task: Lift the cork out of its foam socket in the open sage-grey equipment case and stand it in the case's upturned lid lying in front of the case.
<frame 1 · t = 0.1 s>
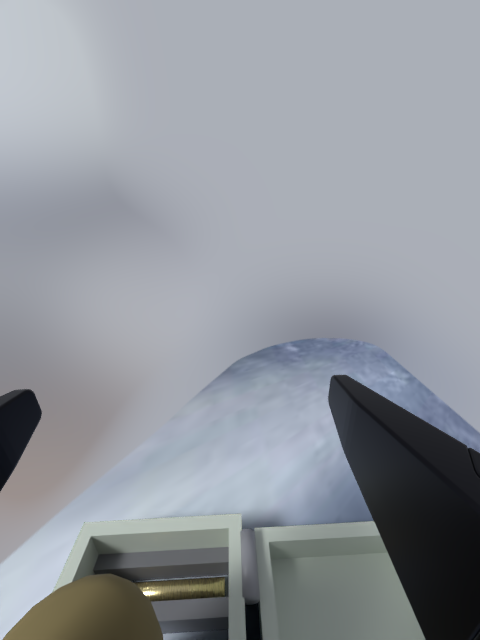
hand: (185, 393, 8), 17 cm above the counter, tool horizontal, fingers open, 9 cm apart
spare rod: (163, 598, 17), resting in case, tilted 14°
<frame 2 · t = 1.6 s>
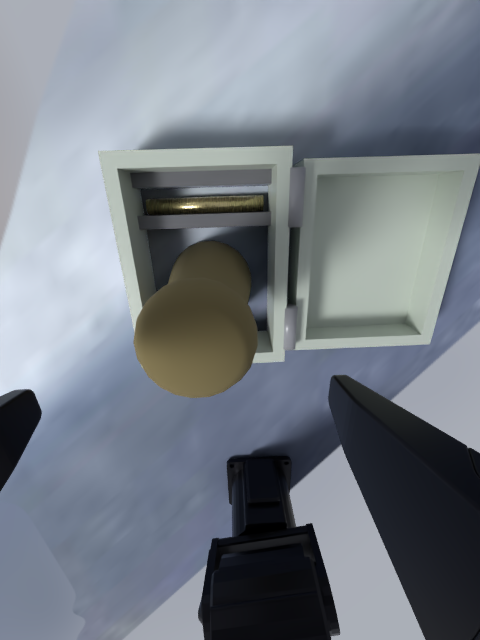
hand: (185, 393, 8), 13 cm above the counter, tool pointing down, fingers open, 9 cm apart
cork: (211, 281, 20), resting in case
lid: (356, 256, 20), on the counter
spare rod: (205, 199, 18), resting in case, tilted 43°
case: (210, 262, 20), on the counter
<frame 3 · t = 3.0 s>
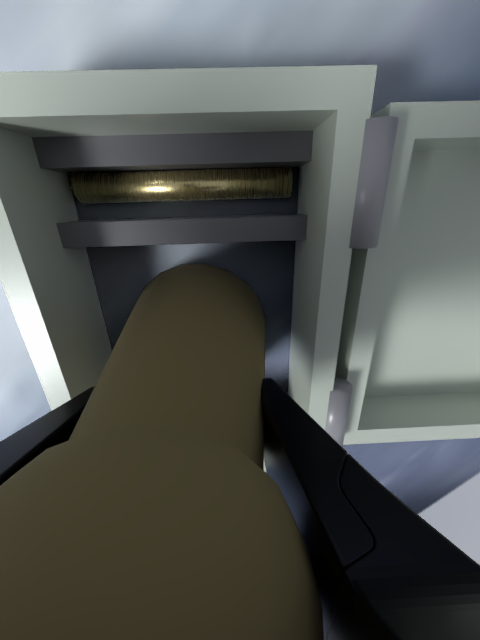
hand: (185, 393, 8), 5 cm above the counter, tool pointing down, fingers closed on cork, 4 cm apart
cork: (200, 327, 13), resting in case, touching gripper
lid: (440, 288, 12), on the counter
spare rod: (187, 199, 10), resting in case, tilted 63°
case: (197, 298, 12), on the counter
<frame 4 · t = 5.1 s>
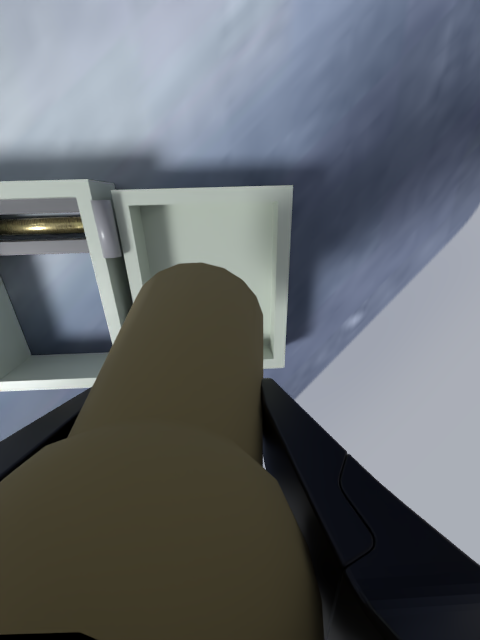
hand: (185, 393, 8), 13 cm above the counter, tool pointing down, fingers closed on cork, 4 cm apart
cork: (198, 326, 12), point 8 cm above the counter, touching gripper
lid: (212, 280, 20), on the counter
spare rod: (47, 233, 18), resting in case, tilted 76°
case: (63, 285, 20), on the counter
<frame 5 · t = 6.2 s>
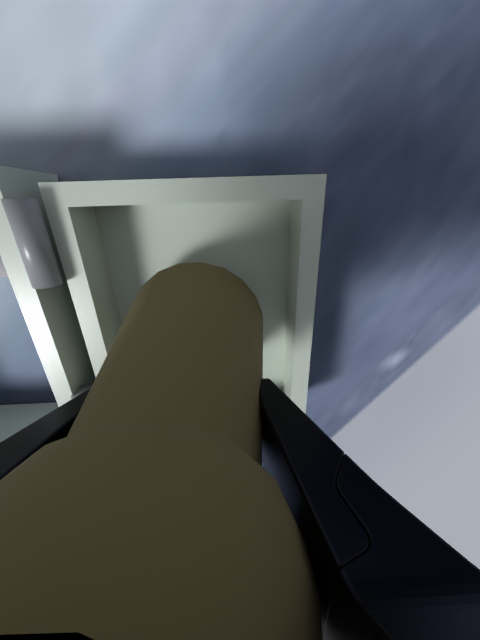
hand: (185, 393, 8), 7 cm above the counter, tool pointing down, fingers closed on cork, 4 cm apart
cork: (198, 326, 13), point 2 cm above the counter, touching gripper
lid: (204, 309, 14), on the counter
when the fingers open (7 cm above the counter, at t = 6.4 s): cork drops 1 cm, resting on lid.
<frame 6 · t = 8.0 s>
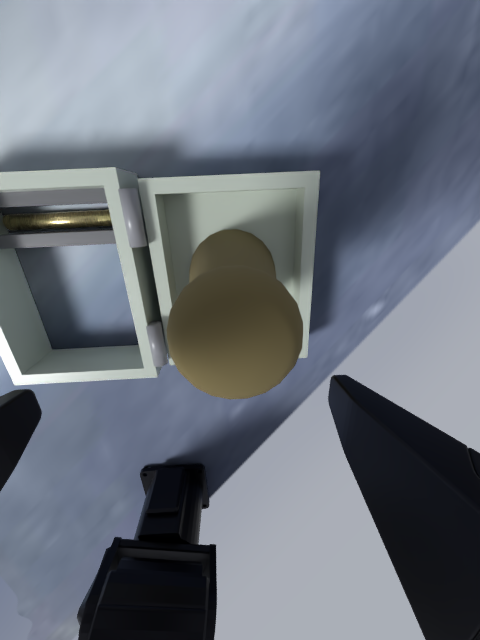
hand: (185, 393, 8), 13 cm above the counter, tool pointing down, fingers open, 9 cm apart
cork: (232, 273, 19), point 1 cm above the counter, touching lid
lid: (234, 270, 20), on the counter
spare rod: (68, 227, 18), resting in case, tilted 108°
case: (85, 278, 20), on the counter
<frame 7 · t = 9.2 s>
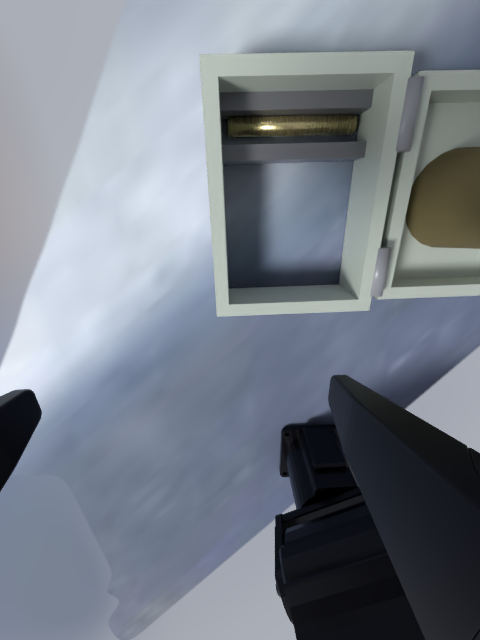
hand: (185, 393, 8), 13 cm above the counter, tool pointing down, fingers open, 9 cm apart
cork: (448, 200, 18), point 1 cm above the counter, touching lid
lid: (443, 200, 18), on the counter
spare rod: (293, 120, 16), point 1 cm above the counter, tilted 163°
case: (287, 205, 18), on the counter
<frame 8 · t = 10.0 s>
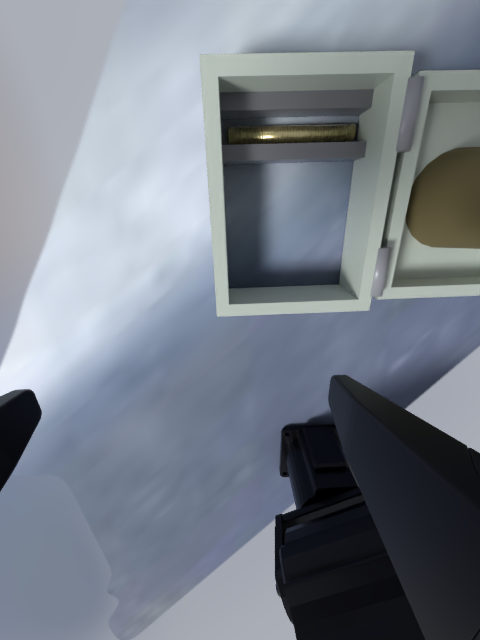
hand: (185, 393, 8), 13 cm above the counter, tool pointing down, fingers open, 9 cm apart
cork: (448, 200, 18), point 1 cm above the counter, touching lid
lid: (443, 200, 18), on the counter
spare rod: (291, 143, 16), resting in case, tilted 121°
case: (287, 205, 18), on the counter
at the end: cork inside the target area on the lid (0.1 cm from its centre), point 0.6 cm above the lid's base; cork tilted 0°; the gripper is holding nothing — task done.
